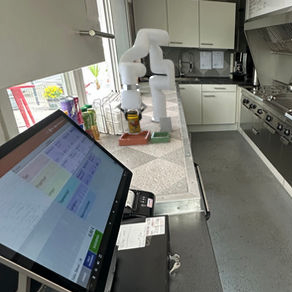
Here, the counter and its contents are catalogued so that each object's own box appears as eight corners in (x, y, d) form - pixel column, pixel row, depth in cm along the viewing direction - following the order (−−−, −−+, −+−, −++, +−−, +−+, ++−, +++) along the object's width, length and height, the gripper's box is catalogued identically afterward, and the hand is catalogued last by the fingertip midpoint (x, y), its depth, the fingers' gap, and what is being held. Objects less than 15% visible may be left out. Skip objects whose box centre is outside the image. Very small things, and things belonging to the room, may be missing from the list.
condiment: (136, 134, 131) (133, 113, 126) (123, 132, 133) (120, 112, 129) (144, 130, 137) (141, 110, 133) (132, 129, 140) (129, 109, 135)
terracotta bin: (126, 136, 143) (125, 130, 142) (150, 135, 146) (150, 130, 145) (119, 145, 128) (118, 139, 127) (146, 144, 131) (146, 138, 130)
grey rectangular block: (172, 132, 153) (170, 117, 149) (161, 133, 150) (159, 118, 146) (171, 130, 156) (170, 116, 152) (160, 132, 153) (159, 117, 149)
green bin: (153, 137, 143) (153, 131, 142) (169, 137, 145) (169, 131, 144) (151, 143, 133) (151, 137, 132) (168, 143, 135) (168, 137, 133)
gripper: (148, 87, 132) (150, 118, 138) (114, 86, 128) (119, 118, 135) (145, 88, 125) (148, 121, 131) (110, 88, 122) (115, 122, 128)
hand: (133, 119), depth 133 cm, fingers closed on condiment, 6 cm apart
